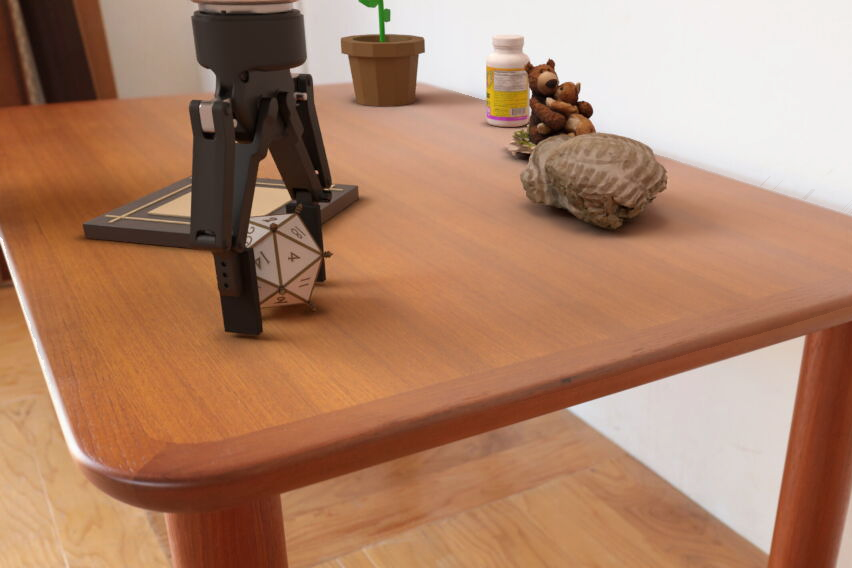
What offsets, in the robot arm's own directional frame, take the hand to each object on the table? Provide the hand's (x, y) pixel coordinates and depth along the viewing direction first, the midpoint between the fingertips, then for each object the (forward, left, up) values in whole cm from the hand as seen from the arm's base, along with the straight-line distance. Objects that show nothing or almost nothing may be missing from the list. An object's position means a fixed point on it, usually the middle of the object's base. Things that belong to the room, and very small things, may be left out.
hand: (279, 304), depth 71 cm
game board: (-16, +21, 0) cm, 26 cm away
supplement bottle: (0, +76, -1) cm, 76 cm away
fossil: (+20, +33, -1) cm, 39 cm away
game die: (0, 0, -1) cm, 1 cm away
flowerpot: (-25, +89, -1) cm, 92 cm away
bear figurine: (+12, +57, -1) cm, 58 cm away
